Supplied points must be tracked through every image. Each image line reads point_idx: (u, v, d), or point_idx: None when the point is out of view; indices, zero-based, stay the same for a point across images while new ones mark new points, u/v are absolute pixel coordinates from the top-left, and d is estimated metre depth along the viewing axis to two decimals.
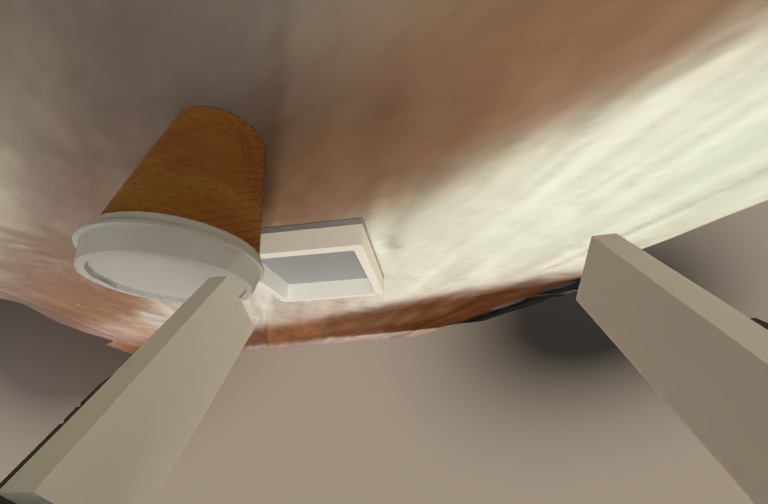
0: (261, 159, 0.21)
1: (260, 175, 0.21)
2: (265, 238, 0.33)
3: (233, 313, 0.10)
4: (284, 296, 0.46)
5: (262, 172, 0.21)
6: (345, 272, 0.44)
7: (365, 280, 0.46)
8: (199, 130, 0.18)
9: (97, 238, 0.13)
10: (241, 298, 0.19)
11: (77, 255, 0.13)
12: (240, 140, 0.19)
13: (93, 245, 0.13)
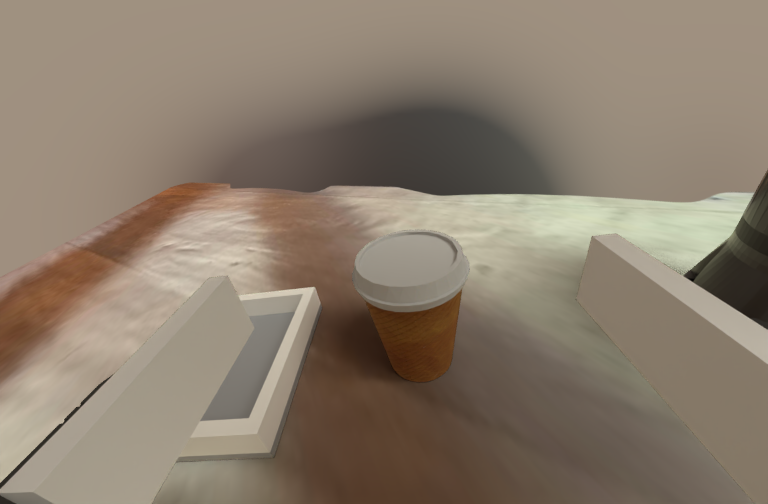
0: (414, 371, 0.25)
1: (413, 361, 0.24)
2: (307, 333, 0.31)
3: (233, 313, 0.10)
4: None
5: (409, 365, 0.24)
6: None
7: None
8: (453, 343, 0.25)
9: None
10: (363, 273, 0.21)
11: (452, 238, 0.23)
12: (438, 364, 0.24)
13: (460, 247, 0.22)
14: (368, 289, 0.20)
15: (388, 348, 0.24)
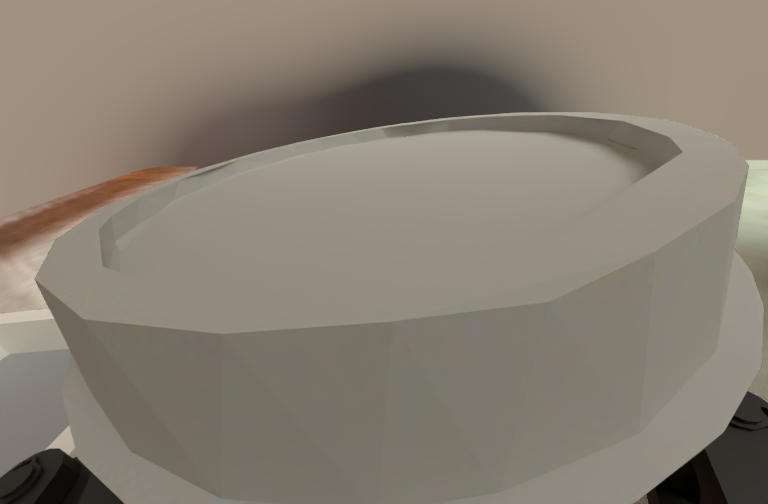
0: None
1: None
2: None
3: None
4: None
5: None
6: None
7: None
8: None
9: None
10: (96, 224, 0.03)
11: None
12: None
13: None
14: None
15: None
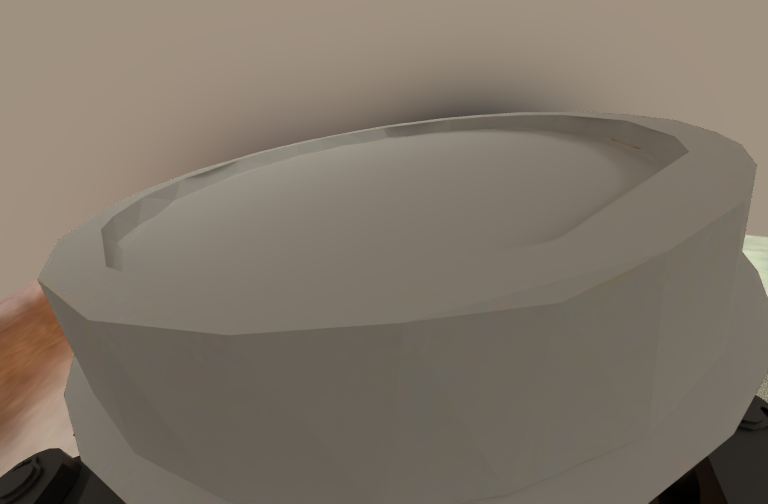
0: None
1: None
2: None
3: None
4: None
5: None
6: None
7: None
8: None
9: None
10: (98, 224, 0.03)
11: None
12: None
13: None
14: None
15: None
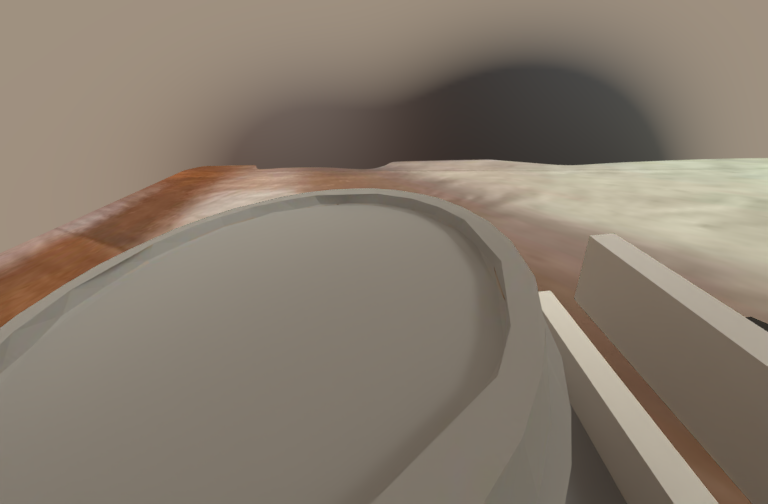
0: None
1: None
2: None
3: None
4: None
5: None
6: None
7: None
8: None
9: None
10: None
11: None
12: None
13: None
14: None
15: None
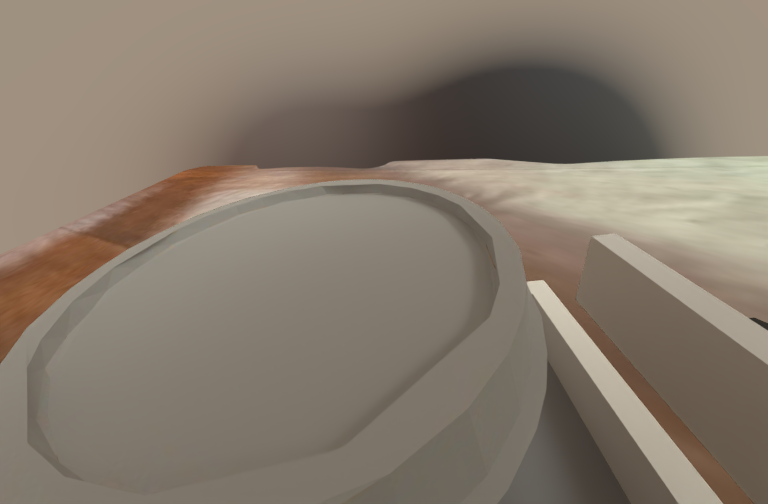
0: None
1: None
2: None
3: None
4: None
5: None
6: None
7: None
8: None
9: None
10: (25, 357, 0.04)
11: None
12: None
13: None
14: None
15: None
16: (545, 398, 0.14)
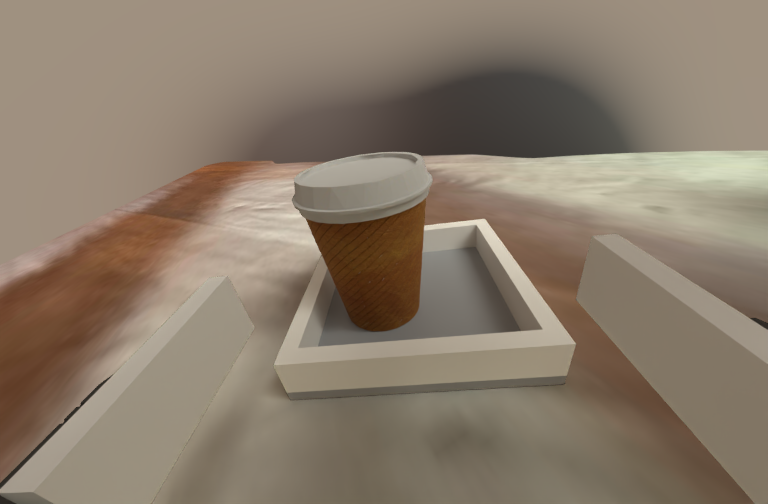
0: (375, 316, 0.21)
1: (371, 301, 0.20)
2: None
3: (233, 313, 0.10)
4: None
5: (367, 307, 0.20)
6: None
7: None
8: (419, 282, 0.22)
9: None
10: (302, 183, 0.17)
11: None
12: (402, 305, 0.21)
13: None
14: (308, 199, 0.16)
15: (342, 289, 0.20)
16: (476, 273, 0.26)
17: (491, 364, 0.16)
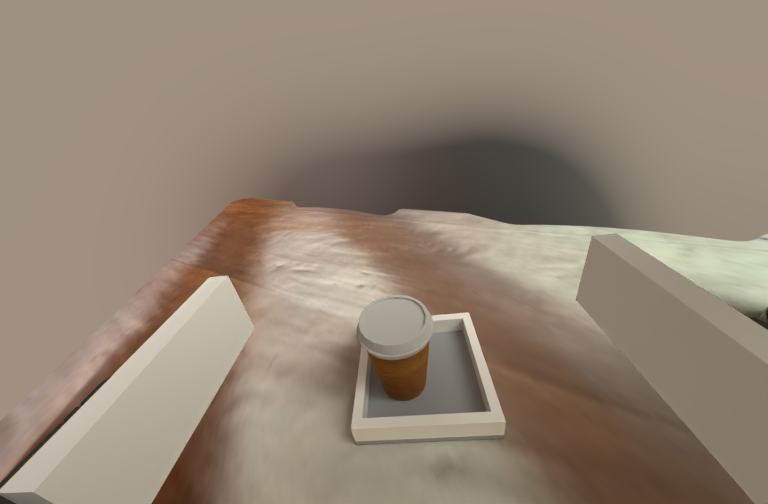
0: (401, 394, 0.36)
1: (399, 388, 0.35)
2: None
3: (233, 313, 0.10)
4: None
5: (397, 390, 0.35)
6: None
7: (366, 415, 0.36)
8: (426, 372, 0.37)
9: (428, 314, 0.34)
10: (366, 334, 0.32)
11: (422, 304, 0.35)
12: (416, 387, 0.36)
13: (427, 311, 0.34)
14: (370, 346, 0.31)
15: (382, 379, 0.36)
16: (462, 355, 0.42)
17: (464, 429, 0.32)
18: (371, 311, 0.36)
